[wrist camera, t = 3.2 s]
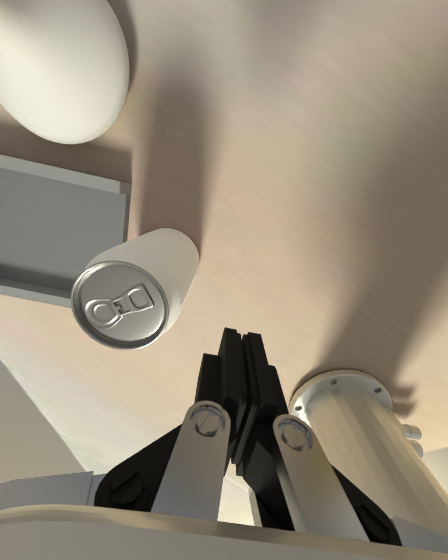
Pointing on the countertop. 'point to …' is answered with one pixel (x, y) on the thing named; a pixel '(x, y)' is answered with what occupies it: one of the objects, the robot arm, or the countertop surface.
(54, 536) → the robot arm
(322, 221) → the countertop surface
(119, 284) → the can
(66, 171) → the tray
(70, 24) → the flower in vase
